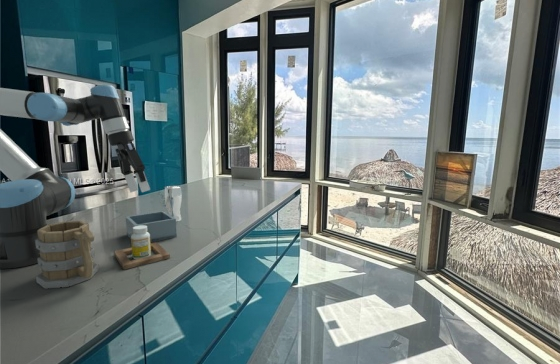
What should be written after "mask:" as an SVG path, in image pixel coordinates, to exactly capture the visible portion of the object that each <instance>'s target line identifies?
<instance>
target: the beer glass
mask: <svg viewBox="0 0 560 364" xmlns="http://www.w3.org/2000/svg"><path fill="white" fill-rule="evenodd" d="M182 196H183V195H182V187H181V186H180V185H168V186H164V201H165V206H166V209H167V210H166V211H167V214H169V215H171V216H172V217H174V218H175V219H176V223H177V222H180V221H182V215H181V207H182V199H183V197H182Z"/></svg>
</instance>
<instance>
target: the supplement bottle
mask: <svg viewBox="0 0 560 364" xmlns="http://www.w3.org/2000/svg"><path fill="white" fill-rule="evenodd" d="M133 233H134V234H132V236H131V239H130V240H131V241H130V242H131V248H132V254H131V255H132V258H133V260H136V259H140V258H145V257H149V256H152V249H151V245H150V244H151V242H150V234H149V233H148V232H147V226H145V225H140V226H135V227H133Z"/></svg>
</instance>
